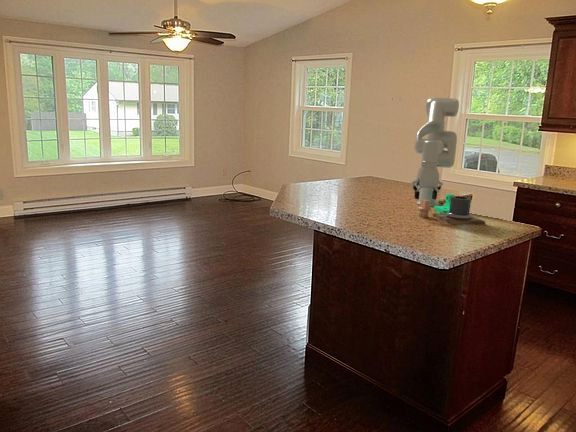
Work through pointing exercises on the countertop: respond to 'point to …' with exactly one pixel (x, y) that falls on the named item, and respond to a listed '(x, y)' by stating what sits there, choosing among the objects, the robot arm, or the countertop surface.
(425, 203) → the tan knob
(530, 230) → the countertop surface
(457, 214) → the black hollow cylinder
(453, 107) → the robot arm
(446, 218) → the mount board
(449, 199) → the camera mount
